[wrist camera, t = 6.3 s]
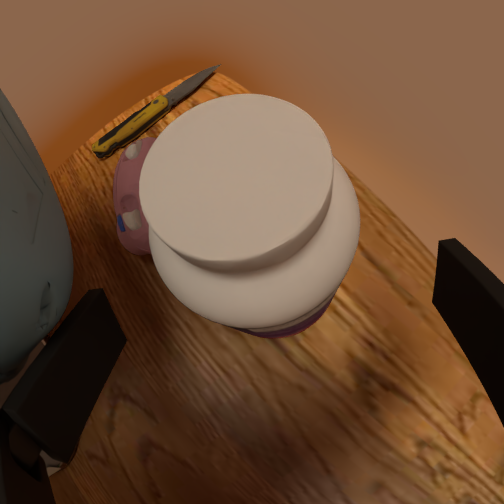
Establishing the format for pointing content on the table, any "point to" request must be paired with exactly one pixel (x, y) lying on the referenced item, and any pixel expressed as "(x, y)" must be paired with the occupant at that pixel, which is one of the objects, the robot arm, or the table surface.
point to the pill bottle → (249, 214)
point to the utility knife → (146, 116)
